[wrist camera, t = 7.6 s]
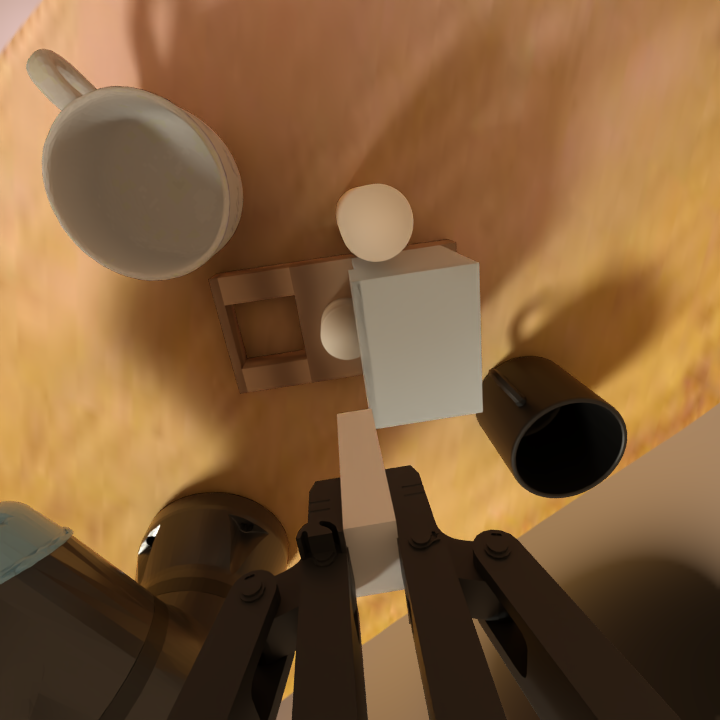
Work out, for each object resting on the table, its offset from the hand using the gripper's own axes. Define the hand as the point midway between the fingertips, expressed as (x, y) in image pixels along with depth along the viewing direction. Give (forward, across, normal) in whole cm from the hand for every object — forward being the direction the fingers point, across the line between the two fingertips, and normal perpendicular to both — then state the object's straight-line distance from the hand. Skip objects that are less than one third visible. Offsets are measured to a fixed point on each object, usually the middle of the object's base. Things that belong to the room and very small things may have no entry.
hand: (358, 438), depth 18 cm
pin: (+20, +3, +8) cm, 22 cm away
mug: (+20, +16, -10) cm, 27 cm away
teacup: (+20, -11, +13) cm, 26 cm away
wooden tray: (+20, 0, 0) cm, 20 cm away
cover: (+17, +5, 0) cm, 18 cm away
